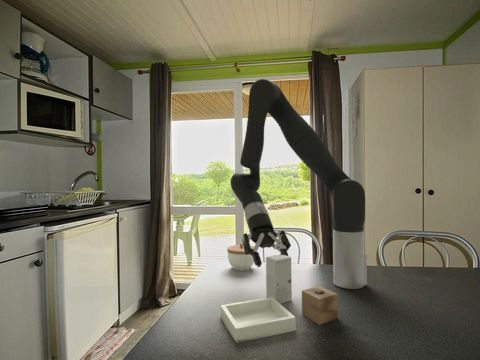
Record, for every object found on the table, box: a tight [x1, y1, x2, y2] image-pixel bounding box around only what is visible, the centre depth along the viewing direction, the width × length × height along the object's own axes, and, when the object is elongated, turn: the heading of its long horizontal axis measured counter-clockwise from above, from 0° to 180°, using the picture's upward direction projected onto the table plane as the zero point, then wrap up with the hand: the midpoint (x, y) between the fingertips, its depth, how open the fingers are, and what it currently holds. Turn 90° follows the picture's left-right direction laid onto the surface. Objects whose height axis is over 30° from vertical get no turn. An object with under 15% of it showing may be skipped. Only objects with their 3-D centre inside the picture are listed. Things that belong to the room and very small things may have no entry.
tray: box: [219, 297, 297, 344], centre depth 69 cm, size 14×12×3 cm
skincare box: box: [265, 254, 293, 305], centre depth 82 cm, size 6×4×12 cm
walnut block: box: [301, 285, 339, 325], centre depth 72 cm, size 6×6×6 cm
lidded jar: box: [226, 242, 255, 272], centre depth 111 cm, size 11×11×9 cm
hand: (273, 264), depth 85 cm, fingers open, 8 cm apart
